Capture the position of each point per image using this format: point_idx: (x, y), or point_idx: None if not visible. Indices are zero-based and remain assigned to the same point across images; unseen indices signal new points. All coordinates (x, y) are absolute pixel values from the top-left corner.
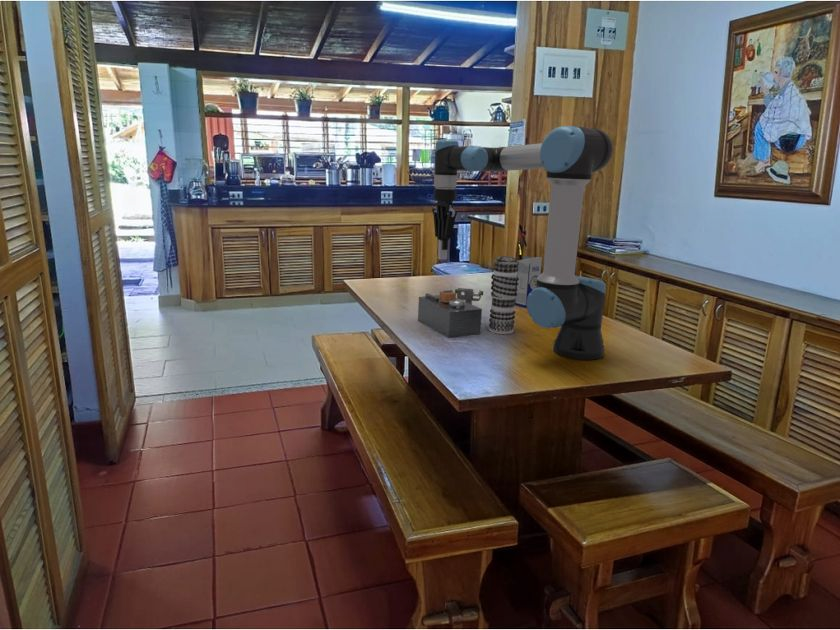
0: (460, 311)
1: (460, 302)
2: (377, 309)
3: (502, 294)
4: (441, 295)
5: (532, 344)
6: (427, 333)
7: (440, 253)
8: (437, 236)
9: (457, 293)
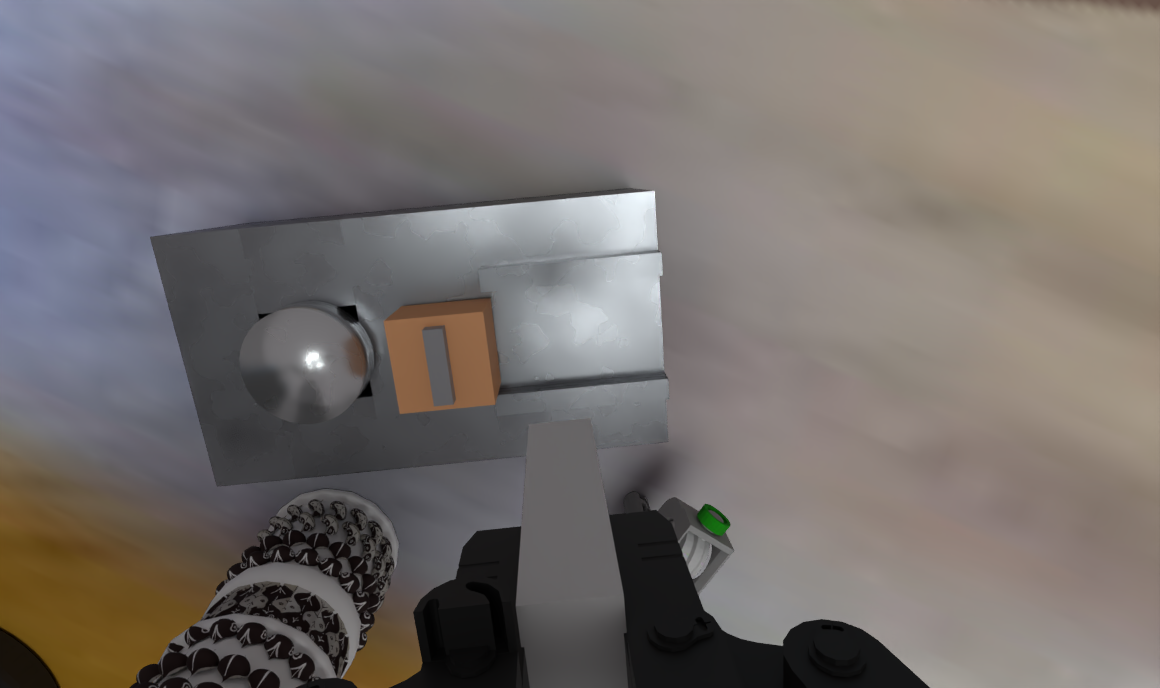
0: (176, 323)
1: (248, 372)
2: (962, 15)
3: (158, 678)
4: (456, 309)
5: (83, 578)
6: (347, 134)
7: (528, 467)
8: (728, 647)
9: (681, 513)
